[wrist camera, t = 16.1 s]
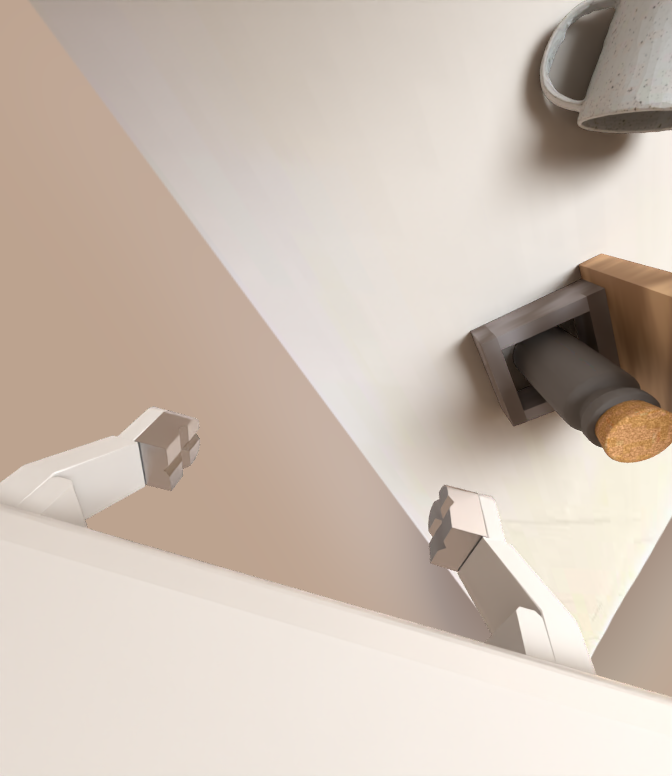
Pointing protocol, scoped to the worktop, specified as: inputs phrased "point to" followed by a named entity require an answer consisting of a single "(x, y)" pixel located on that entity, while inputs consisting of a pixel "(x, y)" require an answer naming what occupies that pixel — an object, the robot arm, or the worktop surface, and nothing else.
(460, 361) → the worktop surface
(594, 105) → the ceramic mug
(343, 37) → the worktop surface
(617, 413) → the bottle
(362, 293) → the worktop surface
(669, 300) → the wooden stand
